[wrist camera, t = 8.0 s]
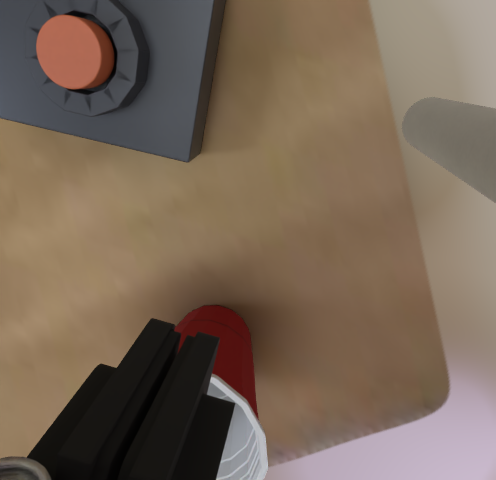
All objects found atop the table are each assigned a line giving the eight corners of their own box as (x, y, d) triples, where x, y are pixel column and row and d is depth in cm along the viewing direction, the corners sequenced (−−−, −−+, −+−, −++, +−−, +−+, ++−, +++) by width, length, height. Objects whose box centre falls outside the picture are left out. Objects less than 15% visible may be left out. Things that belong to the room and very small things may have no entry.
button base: (227, -7, 27) (210, -24, 22) (200, 154, 30) (181, 168, 26) (23, -52, 27) (-35, -78, 22) (21, 112, 31) (-29, 119, 26)
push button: (118, 26, 24) (104, 22, 22) (112, 94, 25) (98, 96, 23) (54, 11, 24) (36, 7, 22) (52, 80, 25) (34, 81, 24)
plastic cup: (221, 246, 33) (176, 335, 21) (308, 347, 35) (309, 477, 24) (122, 319, 36) (39, 429, 25) (207, 407, 38) (166, 545, 27)
